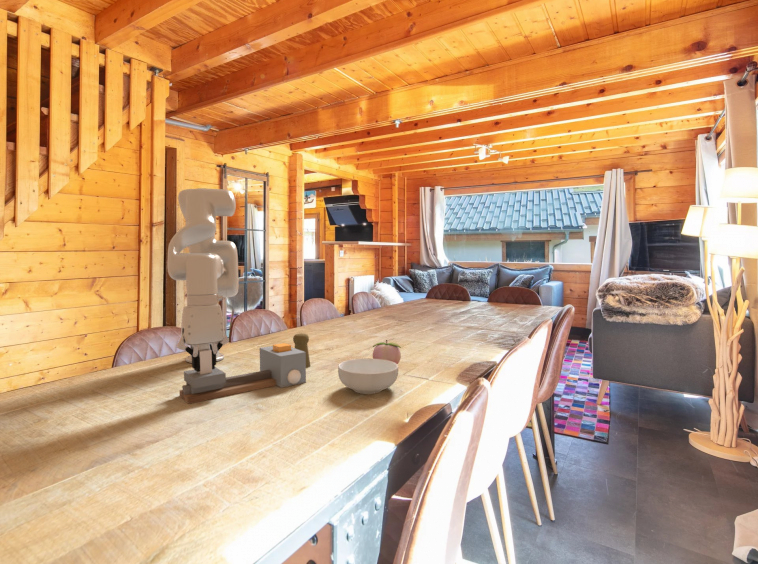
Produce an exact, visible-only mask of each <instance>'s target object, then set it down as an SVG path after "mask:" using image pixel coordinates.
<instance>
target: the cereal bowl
mask: <svg viewBox="0 0 758 564" xmlns="http://www.w3.org/2000/svg"><path fill="white" fill-rule="evenodd" d="M337 373H338V379H339V380H340V382H341V383H342V384H343V385H344V386H345V387H346V388H348V389H350V390H353V392H355V393H357V394H362V395H363V394H364V395H372V394H373V395H374V394H379V393H380V392H382V391H383V390H386V389H389V388H390V387H392V386H393V385H394V384H395V383H396V381H397V378H398V375H399V365H398V364H396V363H394V362H392V361H388V360H382V359H373V358H353V359H347V360H344V361H342V362H340V363H339V364H338V366H337Z"/></svg>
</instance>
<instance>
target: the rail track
mask: <svg viewBox="0 0 758 564" xmlns="http://www.w3.org/2000/svg"><path fill="white" fill-rule="evenodd" d="M275 386H277V385H276V380H275V379H273V378H272V374H271V371H270V370H264V371H260V370H259V371H254V372H248V373H243V374H237V375H232V376H226V382H225V383H223V388H221V389H216V390H211V391H206V392H201V393H196V394H191V385H189V384H188V385H186V384H183V385H182V389H179V397H180V398H182V400H184V401H185V403H187V404H188V405H189V404H193V403H194V404H195V403H200V402H203V401H208V400H213V399H214V400H215V399H217V398H223V397H227V396H233V395H237V394H242V393H245V392H246V393H247V392H251V391H256V390H261V389H266V388H270V387H275Z"/></svg>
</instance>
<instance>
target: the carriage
mask: <svg viewBox="0 0 758 564" xmlns="http://www.w3.org/2000/svg"><path fill="white" fill-rule="evenodd" d="M198 356H199V357H200V372H197V371H195V370H194V369H189V370H184V371H183V379H184V380H183V381H185V385H188V384H189V385H191V394H196V393H201V392H206V391H211V390H216V389H221V388H223V383H225V382H226V377H227V375H226V372H224V371H223V370H221V369H220V368H218V367H216V366H215V369H212V350H210V349H208V348H206V349H199V350H198Z"/></svg>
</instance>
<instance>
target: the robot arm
mask: <svg viewBox="0 0 758 564" xmlns="http://www.w3.org/2000/svg"><path fill="white" fill-rule="evenodd" d="M177 199H178V205H179V208H180V212H181V213H182V215H183V218H184V219H185V225H184V226H183V227H182V228H180V229H179V230H178V231H177V232H176V233H175V234H174V235H173V237H172V238H171V239H170V240H169V241H170V242H169V243H168V248H167V263H166V264H167V265H166V266H167V273H168V276H169V278H171V279H172V280H174V281H185V288H186V306H183V308H182V315H181V324H180V325H181V326H180V338H179V341H178V342H177V344H176V348H178V349H179V350H182V351H184V352H187V354H189V355H188V356H186V357H185V361H186V362H187V363H189V364H191V366H192V370H195V371H197V372H200V357H199V356H198V350H199V349H206V348H208V349H210V350H212V369H215V367H216V365H217V362H219V361H221V360H222V361H223V359H224V358H225V355H224V353H222V352H220V350H221V349H222V348H223V346H225V345H227V344H228V343H229V341H230V339H229V338H228V336H227V334H226V332H225V326H224V325H225V324H224V317H223V311H222V308H221V305H220V304H219V302H220V301H223V300H224V298H232V297H235V296H236V295H237V294H238V293H239V287H240V286H239V282H240V281H239V257H238V249H237V246H236V244H235V243H234V242H233V241H230V240H217V239H216V233H217V219H216V217H233V216H234V215H235V213H236V208H237V207H236V206H237V203H236V198H235V195H234V192H233V191H232V190H229V189H222V188H219V189H218V188H202V187H200V188H199V187H198V188H187V189H186V188H185V189H182V190H180V191H179V192H178V196H177ZM187 248H188V251H189V252H182V251H183V250H184V249H187ZM189 346H190V347H189Z"/></svg>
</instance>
